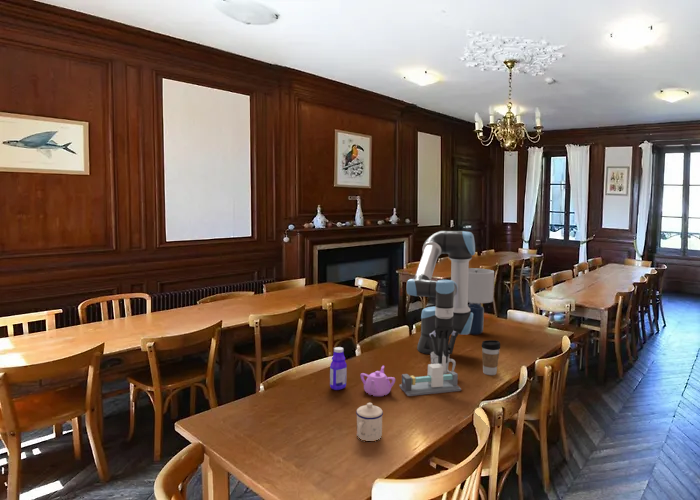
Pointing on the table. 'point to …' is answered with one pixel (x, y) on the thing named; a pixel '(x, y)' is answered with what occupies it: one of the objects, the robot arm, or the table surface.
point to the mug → (435, 361)
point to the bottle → (338, 369)
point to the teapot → (377, 383)
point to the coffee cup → (490, 356)
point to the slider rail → (414, 386)
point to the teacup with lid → (369, 422)
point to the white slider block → (435, 375)
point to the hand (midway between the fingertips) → (442, 370)
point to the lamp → (479, 295)
